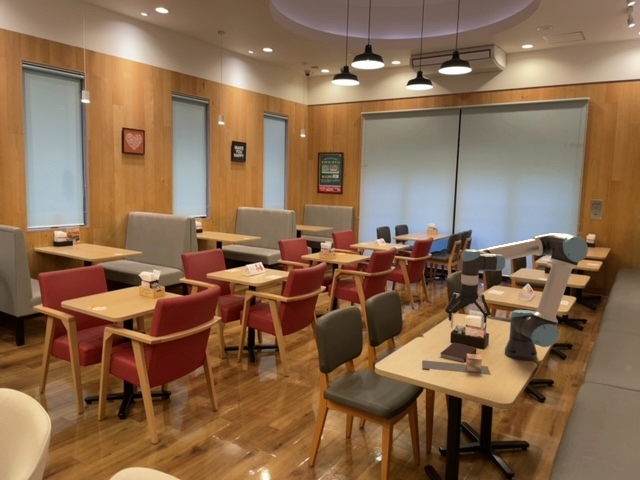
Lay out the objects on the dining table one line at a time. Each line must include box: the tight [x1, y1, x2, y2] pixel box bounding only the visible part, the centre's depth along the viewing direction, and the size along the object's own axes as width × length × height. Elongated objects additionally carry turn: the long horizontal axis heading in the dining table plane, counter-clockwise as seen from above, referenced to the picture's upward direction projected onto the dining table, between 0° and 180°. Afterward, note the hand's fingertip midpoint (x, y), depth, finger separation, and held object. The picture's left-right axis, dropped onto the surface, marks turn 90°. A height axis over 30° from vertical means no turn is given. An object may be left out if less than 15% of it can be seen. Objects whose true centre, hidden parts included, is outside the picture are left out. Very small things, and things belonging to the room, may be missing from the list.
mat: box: [422, 360, 492, 376], centre depth 222 cm, size 30×10×1 cm, turn 79°
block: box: [465, 353, 483, 372], centre depth 220 cm, size 6×6×6 cm
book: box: [439, 342, 478, 363], centre depth 240 cm, size 12×19×3 cm, turn 145°
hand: (466, 328), depth 220 cm, fingers open, 13 cm apart
